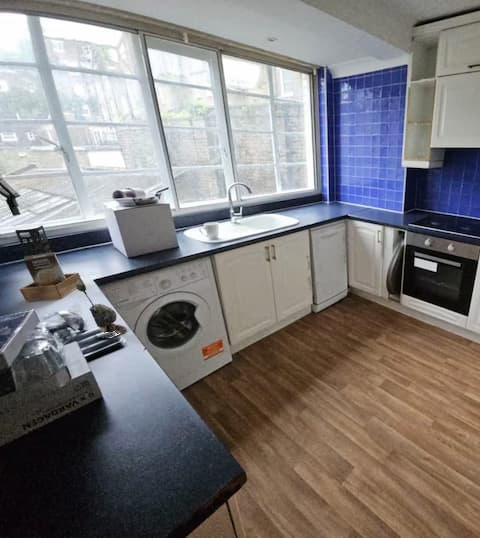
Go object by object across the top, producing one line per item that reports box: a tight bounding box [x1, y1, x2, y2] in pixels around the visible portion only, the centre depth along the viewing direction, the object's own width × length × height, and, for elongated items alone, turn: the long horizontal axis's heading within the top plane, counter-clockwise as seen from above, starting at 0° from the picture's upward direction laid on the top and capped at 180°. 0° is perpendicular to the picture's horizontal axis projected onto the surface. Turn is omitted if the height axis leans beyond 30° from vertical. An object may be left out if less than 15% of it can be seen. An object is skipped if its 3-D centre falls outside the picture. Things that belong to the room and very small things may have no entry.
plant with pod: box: [76, 278, 128, 335], centre depth 92 cm, size 8×11×20 cm
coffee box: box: [23, 251, 66, 287], centre depth 122 cm, size 9×6×16 cm
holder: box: [15, 224, 53, 257], centre depth 157 cm, size 11×8×20 cm
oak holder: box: [19, 272, 82, 303], centre depth 125 cm, size 13×14×6 cm
